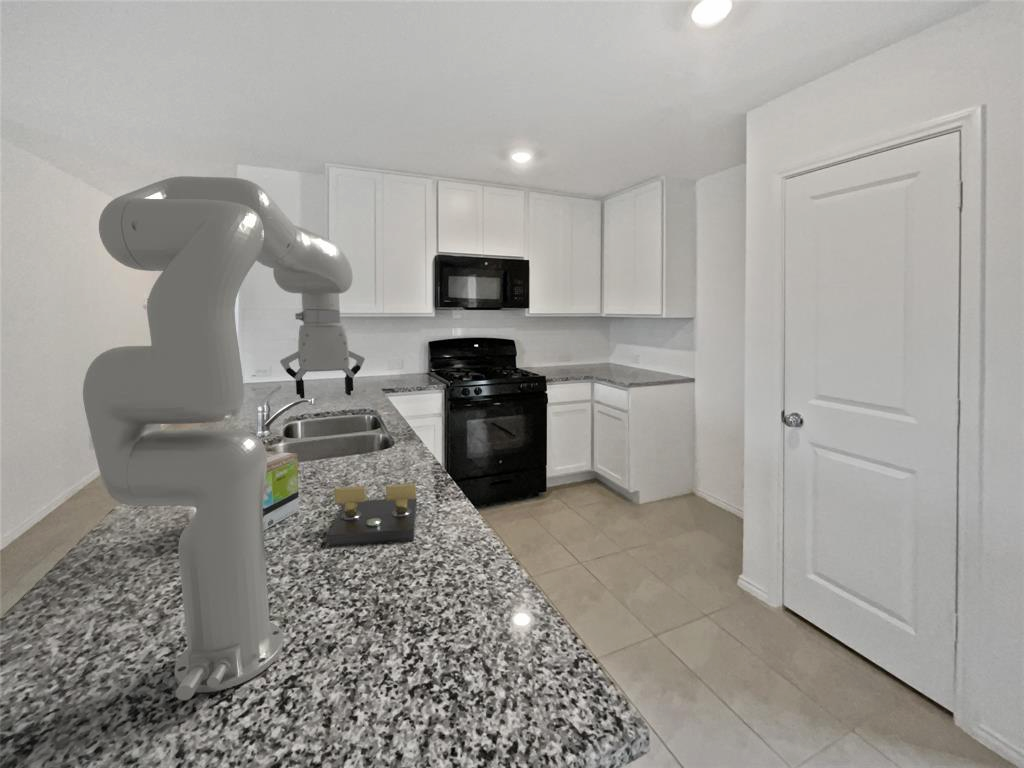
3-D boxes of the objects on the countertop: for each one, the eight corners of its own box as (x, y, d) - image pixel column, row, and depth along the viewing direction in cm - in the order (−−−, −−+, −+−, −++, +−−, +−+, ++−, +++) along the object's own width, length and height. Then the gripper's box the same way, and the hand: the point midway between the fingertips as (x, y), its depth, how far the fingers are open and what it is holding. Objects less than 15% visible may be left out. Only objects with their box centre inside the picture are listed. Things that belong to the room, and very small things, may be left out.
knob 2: (415, 512, 104) (415, 485, 103) (386, 513, 103) (385, 487, 102) (416, 507, 107) (415, 481, 106) (387, 509, 105) (386, 483, 105)
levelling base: (413, 540, 97) (413, 526, 96) (328, 546, 94) (328, 532, 94) (416, 507, 114) (416, 495, 114) (345, 511, 112) (344, 499, 111)
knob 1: (365, 515, 102) (364, 488, 101) (334, 517, 101) (333, 490, 100) (366, 510, 105) (365, 484, 104) (337, 512, 104) (336, 485, 103)
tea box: (255, 538, 97) (250, 471, 95) (214, 534, 99) (209, 468, 97) (301, 510, 112) (297, 451, 110) (265, 507, 114) (261, 449, 112)
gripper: (278, 318, 93) (283, 402, 96) (366, 319, 101) (368, 395, 104) (276, 318, 100) (281, 396, 102) (359, 319, 108) (362, 391, 110)
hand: (325, 396), depth 103 cm, fingers open, 9 cm apart
